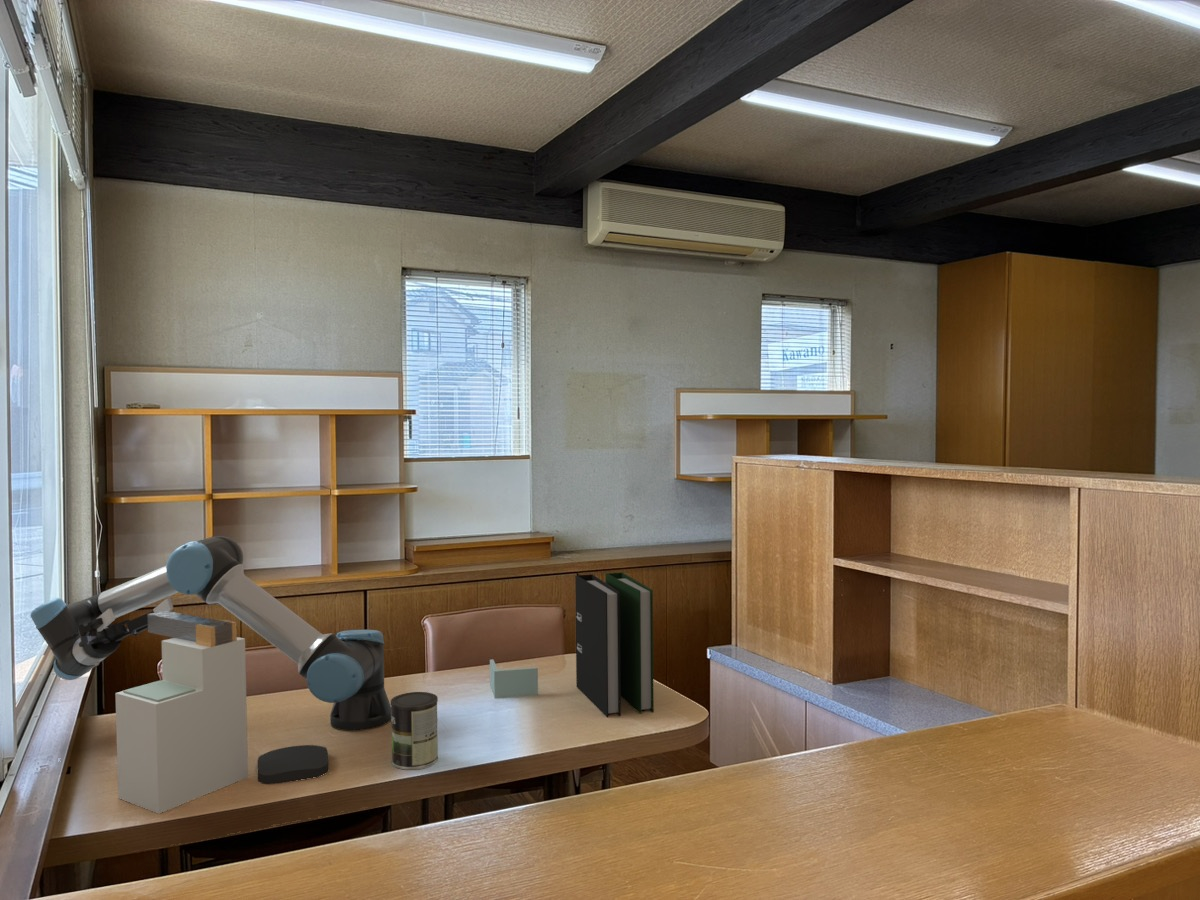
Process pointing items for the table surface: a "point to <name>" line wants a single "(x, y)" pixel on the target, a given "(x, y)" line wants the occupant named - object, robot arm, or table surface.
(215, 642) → the grey rectangular bar
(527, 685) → the right angle wall
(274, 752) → the media streaming box
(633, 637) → the dark upright rectangular slabs
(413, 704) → the coffee can
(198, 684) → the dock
